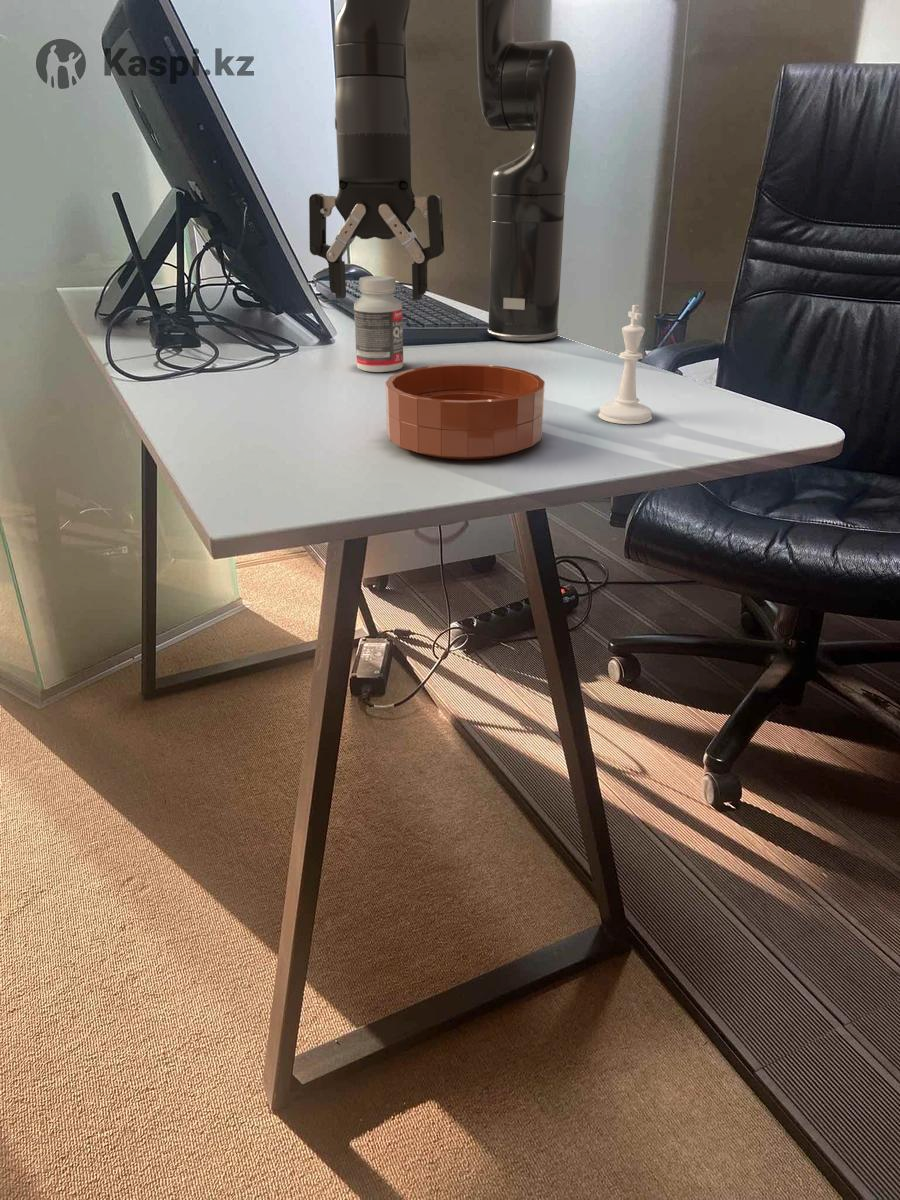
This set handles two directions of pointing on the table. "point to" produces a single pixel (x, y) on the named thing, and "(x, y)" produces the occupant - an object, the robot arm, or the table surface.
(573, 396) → the table surface
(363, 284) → the pill bottle
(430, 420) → the bowl
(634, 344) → the chess piece
